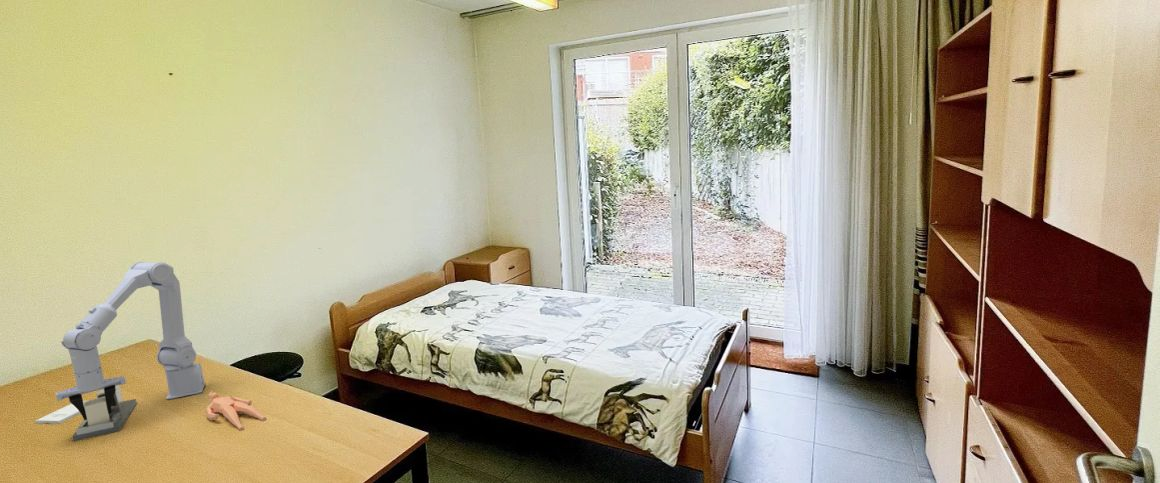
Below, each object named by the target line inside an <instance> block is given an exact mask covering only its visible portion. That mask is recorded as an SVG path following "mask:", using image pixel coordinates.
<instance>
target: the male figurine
mask: <svg viewBox="0 0 1160 483" xmlns="http://www.w3.org/2000/svg"><path fill="white" fill-rule="evenodd" d="M207 397H208V399H210V400H211V401H212V402H211V403H209V404H208V405H207V407H206V409H205V416H206V417H207V418H208V420H209V421H214V420H217V419H219V418H220V414H222V415H223V417H224V419H225V420H228V421H229V422H230V423H231V424H232V426H234V427H235V428H237V429H238V431H243V430H244V429H245V427H244V426H243V425H242V423H241V420H240V418H239V415H240V416H241V415H244V414H245V415H248V416H251V417H253V418H256V419H259V420H260V421H262V422H264V421H265V420H267V417H266V416H264V415H263V414H262V413H261V412H260V411H259V410H258V409H257V408H256V407H254V405H252V404H253V401H252V400H248V399H244V398H241V397H237V396H236V397H232V396H229V395H228V396H227V395H226V396H221V397H219V395H218V394H217V392H215V391H209V393H208V394H207Z"/></svg>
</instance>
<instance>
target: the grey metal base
mask: <svg viewBox="0 0 1160 483" xmlns="http://www.w3.org/2000/svg"><path fill="white" fill-rule="evenodd" d="M120 385H121V384H120ZM120 385H116V386H115V388H116V391H115V394H114V396H113V400H112V405H111V413H109V419H110V421H108V422H105V423H101V424H96V425H91V426H88V421H87V420H84V419H83V420H82V422H81V423H80V424H79V425H78V427H77V428H76V429H75V432H74V433H73V434H72V436H71V437H72V438H71V439H72V442H77V441H81V440H85V439H84V438H86V439H89V437H90V438H94V437H93V436H95V437H98V435H99V436H104V435H107V434H108V435H109V434H113V433H117V432H120V431H121V429H122V428H123V426H124V424H125V422H126V421H127V420H128V418H129V417H130V415H131V413H132V411H133V410H134V408H135V407H136V405H137V403H138V402H137V398H133V399H129V400H124V401H123V396H122V390H121V387H120ZM97 391H98V392H96V399H97V398H101V397H104V396H105V393H104V389H101V390H97ZM105 399H106V397H105ZM106 404H107V401H106ZM103 434H104V435H103Z"/></svg>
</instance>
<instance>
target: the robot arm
mask: <svg viewBox="0 0 1160 483" xmlns="http://www.w3.org/2000/svg"><path fill="white" fill-rule="evenodd" d="M149 286H150V287H151V288H153V289H156V290H157V292H158V295H159V296H158V298H159V306H160V307H159V308H160V317H161V319H160V320H161V327H162V338H163V339H162V340H161V341H160V342H159V343H158V352H157V354H156V361H157V362H158V363H159V365H162V367H163V369H164V375H165V378H166V383H167V389H168V393H167V396H166V399H165V400H172V399H177V398H182V397H186V396H191V395H195V394H197V395H198V394H200V393H202V392H203V390H204V389H205V388H204V387H205V385H206V383H205V379H204V373H203V367H202V364H201V363H200V362H197V363H194V362H195V361H196V357H197V352H196V351H195V349H194V347H193V342H192V341H191V340H189V339H188V337H186V336H185V325H184V314H183V305H182V294H181V293H182V292H181V284H180V280H179V278H178V277H177V276H176V274H175V272H174V267H173V266H171V265H169V264H168V263H166V262H162V261H161V262H148V261H138V262H137V261H136V263H134V264H132V266H130V268H129V269H128V270H126V271H125V274H124V278H123V279H122V280H121V281H120V282H119V283H118V285H117V286H116V288H115V289H114V290H113V291H112V293H111V294H110V295H109V296H108V297H107V299H106V300H105V301H104V303H101V304H96V305H95V306H94V307H90V308H89V309H88V310H87V311H88V313H87V314H86V315H85V316H84V317H83V318H82V320H81V321H80V322H77V323H76V324H75V328H72V329H69V330H68V331H67V332H65V334H64V336H63V339H62V340H61V341H60V343H61V345H62V347H64V348H65V349H67V350H68V353H69V355H70V356H69V357H70V361H71V365H72V371H73V373H74V375H73V376H74V378H75V383H76V386H74V387H70V388H67V389H64V390H61V391H57V392H55V398H56V400H57V402H60V401H63V400H64V399H65V400H66V399H69V400H68V401H69V402H70V404H73V405H74V406H75V407H76V408H77V409H78V410H79V412H80V415H81V416H82V418H83V420H87V417H86V412H85V408H84V404H83V401H84V400H83V395H85V394H88V393H92V392H95V391H99V390H101V389H104V393H105V397H106V401H107V410H108V414H109V413H111V405H112V400H113V396H114V394H115V391H116V388H115V386H117V385H121V386H123V385H126V384H127V383H126V378H125V375H122V376H116V377H112V378H111V377H110V378H104V373H103V369H102V368H103V367H102V364H101V359H100V356H99V350H98V345H99V344H100V343H101V340H102V334H103V332H105V331H106V329H107V328H108V327H109V326H110V324H111V323H112V322H113V321H114V320H115V318H117V316H118V312H117V310H118V309H119V308H120V307H121V306H122V305H123V304H124V303H125V302H126V301H127V299H129V298H130V297H131V296H132V295H133V294H134V292H136V290H138V289H142V288H145V287H149Z"/></svg>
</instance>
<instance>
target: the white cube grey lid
mask: <svg viewBox="0 0 1160 483" xmlns="http://www.w3.org/2000/svg"><path fill="white" fill-rule="evenodd" d="M84 401H85V402H84V408H85V412H86V417H87V421H88V426H91V425H96V424H101V423H105V422H108V421H110V419H109V414H108V410H107V404H106V399H105V396H104V397H101V398H97V397H96V398H93V399H90V400H84Z"/></svg>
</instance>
